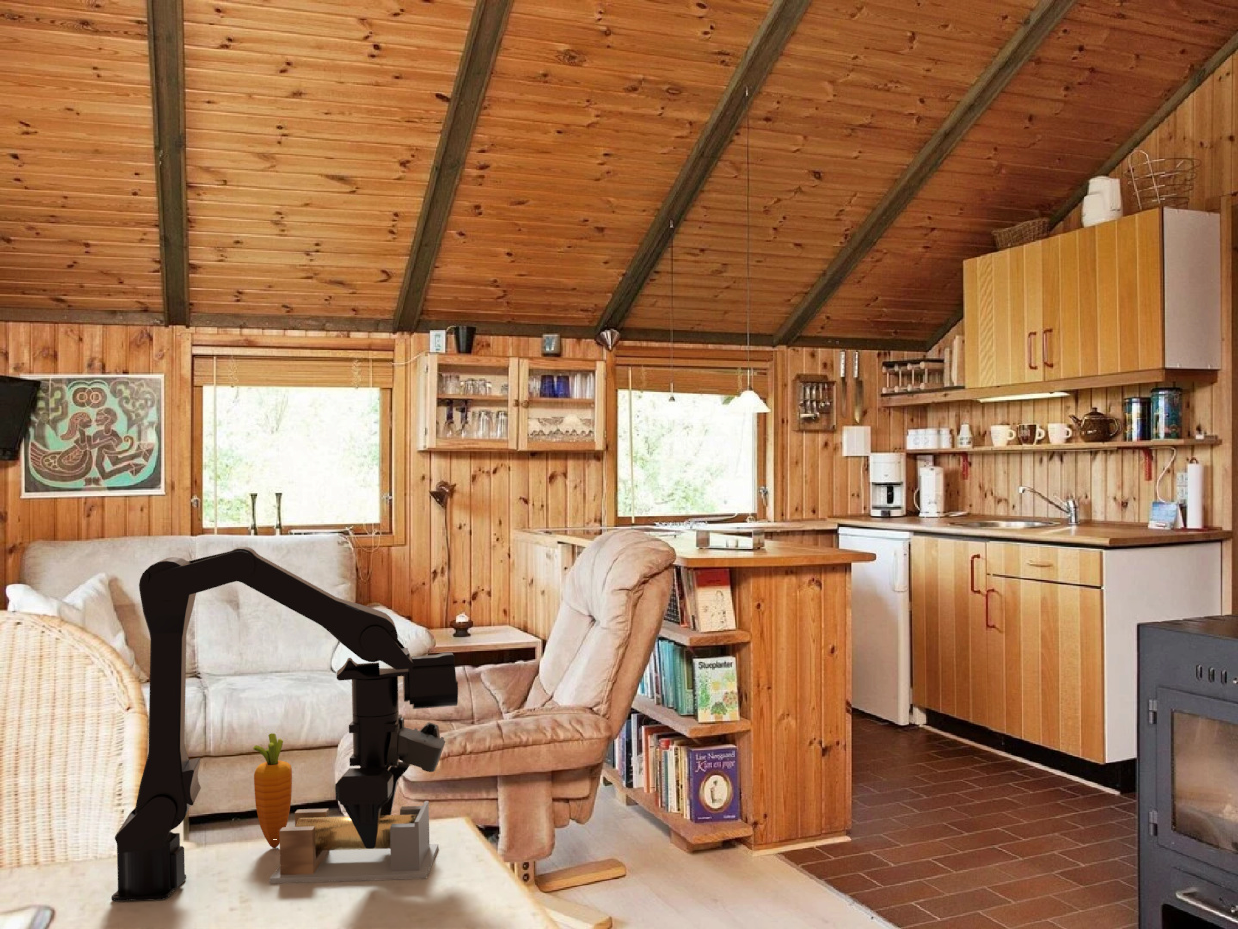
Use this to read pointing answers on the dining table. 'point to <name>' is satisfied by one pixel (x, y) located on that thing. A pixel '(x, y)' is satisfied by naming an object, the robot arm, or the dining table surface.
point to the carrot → (272, 791)
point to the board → (358, 867)
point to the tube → (350, 831)
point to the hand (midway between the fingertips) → (378, 835)
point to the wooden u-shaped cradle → (300, 845)
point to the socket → (410, 839)
